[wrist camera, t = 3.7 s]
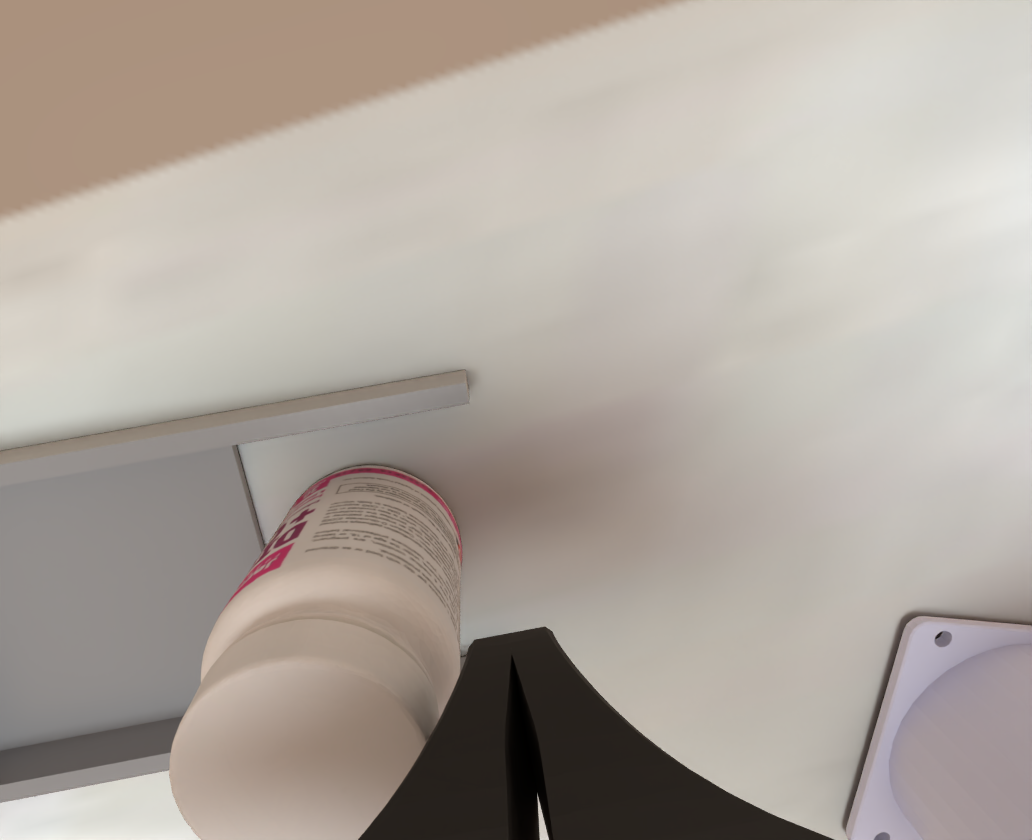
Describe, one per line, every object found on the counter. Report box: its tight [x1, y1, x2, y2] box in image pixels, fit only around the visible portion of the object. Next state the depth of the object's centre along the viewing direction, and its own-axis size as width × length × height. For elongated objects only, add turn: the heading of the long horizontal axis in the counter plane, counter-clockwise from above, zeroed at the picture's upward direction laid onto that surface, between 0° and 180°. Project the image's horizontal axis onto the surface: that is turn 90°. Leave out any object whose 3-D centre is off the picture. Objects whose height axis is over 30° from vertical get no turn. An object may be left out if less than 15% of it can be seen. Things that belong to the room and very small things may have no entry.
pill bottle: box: [169, 466, 462, 840], centre depth 15 cm, size 5×5×8 cm
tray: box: [0, 370, 469, 803], centre depth 18 cm, size 15×9×2 cm, turn 99°
